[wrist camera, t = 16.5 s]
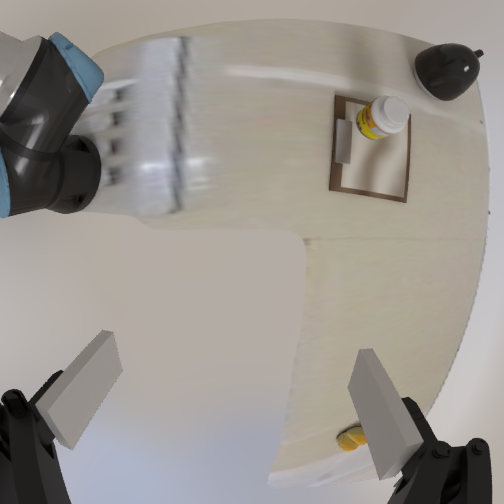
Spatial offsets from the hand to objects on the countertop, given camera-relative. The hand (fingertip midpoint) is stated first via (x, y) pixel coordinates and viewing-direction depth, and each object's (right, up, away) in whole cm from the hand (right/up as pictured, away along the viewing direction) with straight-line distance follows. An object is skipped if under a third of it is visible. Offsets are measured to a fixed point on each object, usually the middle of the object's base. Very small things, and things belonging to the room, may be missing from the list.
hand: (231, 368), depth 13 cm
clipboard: (+21, +23, +26) cm, 40 cm away
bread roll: (+27, -42, +42) cm, 65 cm away
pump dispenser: (+34, +38, +22) cm, 56 cm away
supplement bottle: (+20, +26, +24) cm, 41 cm away
